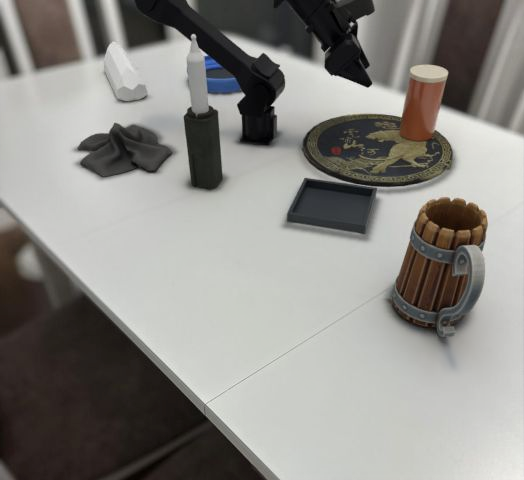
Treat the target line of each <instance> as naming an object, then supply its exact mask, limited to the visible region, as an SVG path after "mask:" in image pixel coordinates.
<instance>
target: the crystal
mask: <svg viewBox="0 0 524 480" xmlns="http://www.w3.org/2000/svg"><path fill="white" fill-rule="evenodd" d="M103 70H104V71H103V72H104V73H105V75H106V77H107V79H108V82H109V85H110V86H111V89H112V91H113V93H114V95H115V97H116V99H117V100H122V101H125V102H132V101H138V100H139V101H140V100H142V99H143V98H145V97H146V96H147V95H148V94H149V92H148V90H147V85H146V84H145V83H144V81H143V79H142V77H141V76H140V74H139V72H138V70H137V69H136V67H135V64H134V63H133V62H132V59H131V58H130V56H129V55H128V53H127V52H126V51H125V50H124V48H123V47H122V46H121V45H119V43H117V42H115V41H112V42H110V43H109V45H108V46H107V49H106V51H105V55H104V59H103Z"/></svg>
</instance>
